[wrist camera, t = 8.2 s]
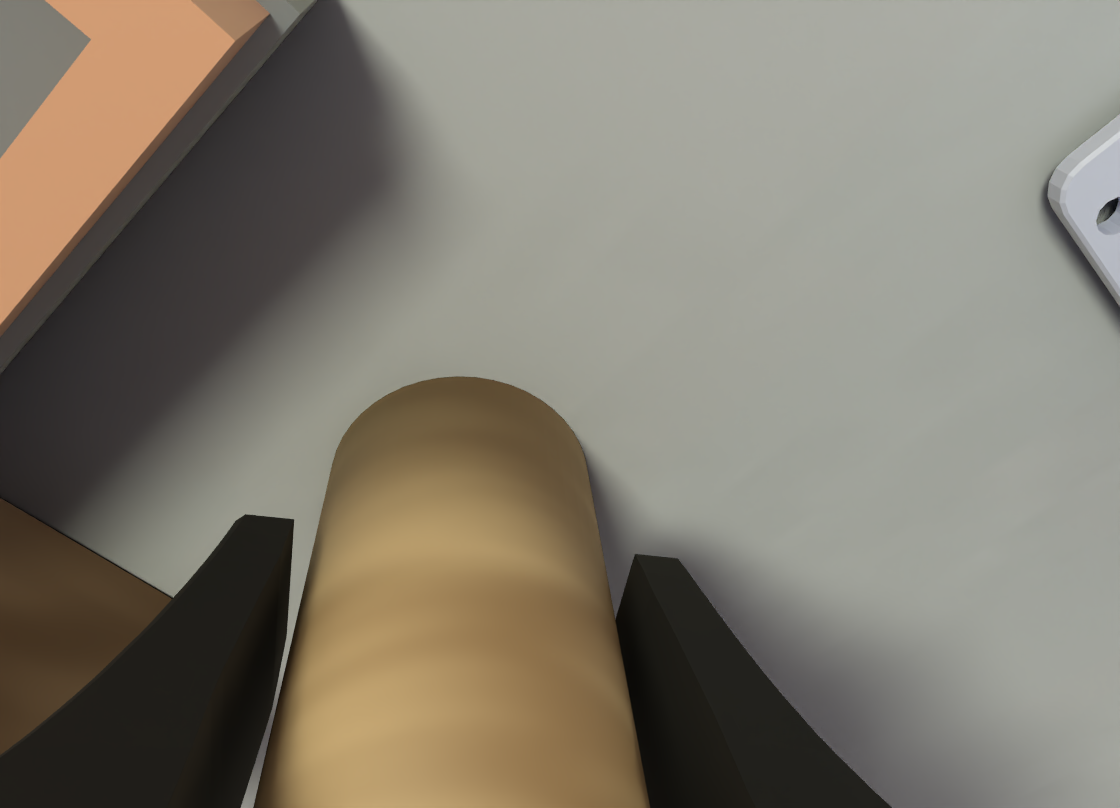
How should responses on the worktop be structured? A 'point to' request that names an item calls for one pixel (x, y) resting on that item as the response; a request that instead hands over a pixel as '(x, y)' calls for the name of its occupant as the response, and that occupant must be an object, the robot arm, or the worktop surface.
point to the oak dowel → (455, 619)
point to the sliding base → (105, 124)
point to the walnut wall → (58, 619)
